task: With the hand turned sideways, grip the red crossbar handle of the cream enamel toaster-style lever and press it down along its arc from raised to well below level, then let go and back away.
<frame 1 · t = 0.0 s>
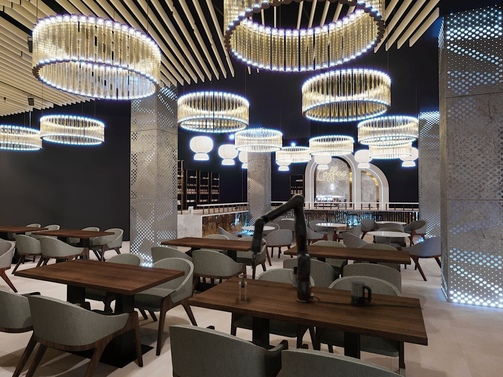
hand: (253, 267, 236), 22 cm above the table, tool pointing down, fingers open, 8 cm apart
lever: (242, 280, 235), point 13 cm above the table, hinge at 28.0°
glass holder: (295, 286, 269), on the table
milk frother: (361, 303, 228), on the table
toaster bracket: (242, 300, 231), on the table
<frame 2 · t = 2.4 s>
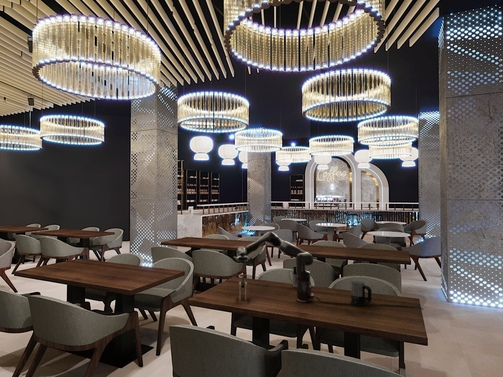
hand: (242, 260, 251), 24 cm above the table, tool horizontal, fingers open, 8 cm apart
nothing on the table moved.
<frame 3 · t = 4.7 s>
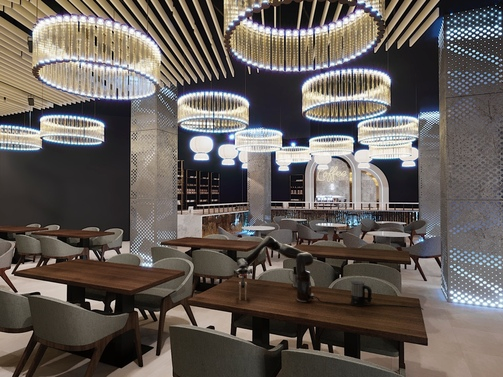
hand: (243, 273, 246), 16 cm above the table, tool horizontal, fingers open, 8 cm apart
nothing on the table moved.
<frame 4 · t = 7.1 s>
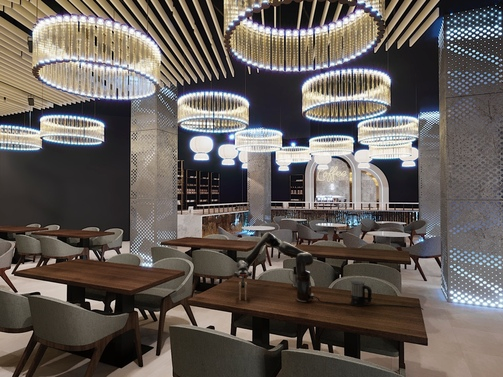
hand: (243, 276, 237), 16 cm above the table, tool horizontal, fingers closed on lever, 5 cm apart
lever: (242, 280, 235), point 13 cm above the table, hinge at 28.0°, touching gripper
everything else where it was.
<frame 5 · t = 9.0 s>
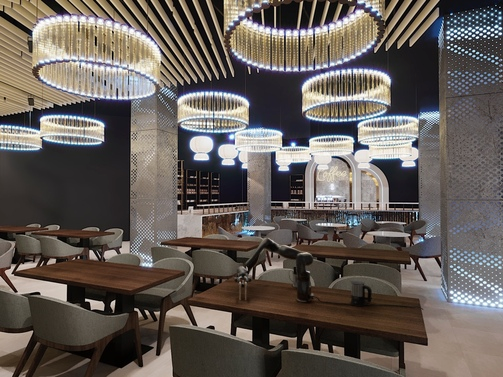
hand: (243, 281, 238), 11 cm above the table, tool horizontal, fingers closed on lever, 5 cm apart
lever: (242, 283, 235), point 11 cm above the table, hinge at 3.2°, touching gripper
everything else where it was.
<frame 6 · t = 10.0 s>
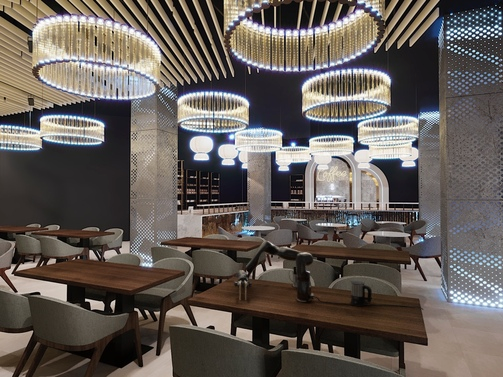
hand: (242, 286, 238), 8 cm above the table, tool horizontal, fingers closed on lever, 5 cm apart
lever: (242, 285, 235), point 10 cm above the table, hinge at -13.8°, touching gripper
everything else where it was.
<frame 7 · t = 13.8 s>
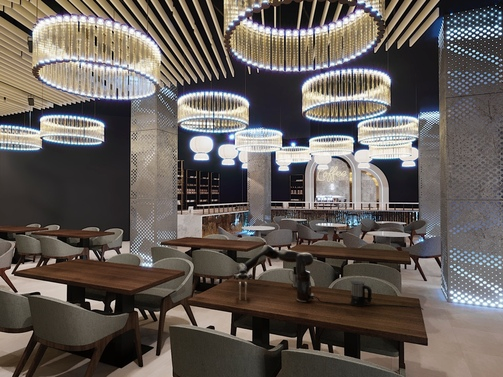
hand: (242, 278, 251), 11 cm above the table, tool horizontal, fingers open, 8 cm apart
lever: (242, 285, 235), point 10 cm above the table, hinge at -14.9°
everything else where it was.
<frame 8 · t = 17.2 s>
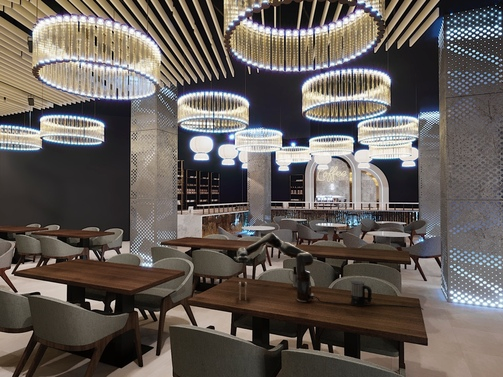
hand: (243, 260, 251), 24 cm above the table, tool horizontal, fingers open, 8 cm apart
nothing on the table moved.
at the end: lever at -15° (first picture: +28°); the gripper is holding nothing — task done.
